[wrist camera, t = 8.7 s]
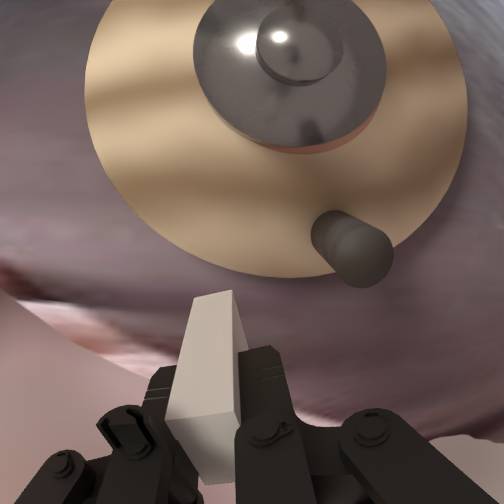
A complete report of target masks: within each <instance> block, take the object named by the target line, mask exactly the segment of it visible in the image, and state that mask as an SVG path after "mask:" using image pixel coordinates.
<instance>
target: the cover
mask: <svg viewBox="0 0 504 504" xmlns="http://www.w3.org/2000/svg"><path fill="white" fill-rule="evenodd" d="M193 62H194V68H195V72H196V75H197V78H198V81H199V84H200V86H201V89H202V91H203V94H204V96H205V98H206V100H207V102H208V104H209V105H210V107H211V108H212V110H213V111H214V113H215V114H216V115H217V116H218V117H219V119H220V120H221V121H222V122H223V123H225V124H226V125H227V126H228V127H229V128H230V129H232V130H233V131H235V132H236V133H238V134H239V135H241V136H243V137H245V138H247V139H249V140H251V141H254V142H257V143H259V144H263V145H267V146H271V147H278V148H299V147H307V146H313V145H318V144H323V143H327V142H331V141H334V140H336V139H339V138H341V137H344V136H345V135H347V134H349V133H351V132H353V131H354V130H355V129H357V128H358V127H359V126H361V125H362V124H363V123H364V122H365V121H366V120H367V119H368V118H369V117H370V116H371V114H372V113H373V111H374V110H375V109H376V107H377V105H378V103H379V101H380V99H381V97H382V94H383V91H384V88H385V83H386V76H387V64H386V56H385V52H384V48H383V44H382V42H381V39H380V37H379V34H378V32H377V31H376V29H375V27H374V25H373V24H372V22H371V21H370V19H369V18H368V17H367V15H366V14H365V13H364V12H363V11H362V10H361V9H360V8H359V7H358V6H357V5H356V4H355V3H354V2H353V1H352V0H215V1H214V2H213V3H212V4H211V5H210V6H209V8H208V9H207V10H206V12H205V13H204V15H203V17H202V18H201V20H200V22H199V24H198V27H197V30H196V33H195V37H194V43H193Z"/></svg>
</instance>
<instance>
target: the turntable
mask: <svg viewBox="0 0 504 504" xmlns="http://www.w3.org/2000/svg"><path fill="white" fill-rule="evenodd" d="M214 1H215V0H113V1H112V2H111V4H110V5H109V7H108V9H107V10H106V12H105V14H104V16H103V18H102V20H101V22H100V23H99V25H98V28H97V31H96V33H95V36H94V39H93V42H92V44H91V47H90V52H89V57H88V61H87V67H86V73H85V95H84V97H85V107H86V115H87V123H88V126H89V130H90V134H91V138H92V141H93V145H94V148H95V150H96V152H97V155H98V157H99V159H100V162H101V164H102V166H103V168H104V170H105V172H106V174H107V175H108V177H109V179H110V180H111V182H112V183H113V185H114V187H115V188H116V190H117V191H118V193H119V194H120V195H121V197H122V198H123V199H124V200H125V201H126V202H127V204H128V205H129V206H130V207H131V208H132V210H133V211H134V212H135V213H136V214H137V215H138V216H139V217H140V218H141V219H142V220H143V221H145V222H146V223H147V224H148V225H149V226H150V227H151V228H152V229H154V230H155V231H156V232H157V233H158V234H160V235H161V236H163V237H164V238H166V239H167V240H169V241H170V242H172V243H173V244H175V245H176V246H178V247H179V248H181V249H182V250H184V251H186V252H188V253H190V254H192V255H194V256H196V257H198V258H200V259H202V260H204V261H207V262H209V263H212V264H215V265H218V266H221V267H224V268H227V269H230V270H233V271H237V272H242V273H247V274H252V275H257V276H265V277H279V278H298V277H314V276H320V275H325V274H330V273H335V272H336V273H337V274H338V275H339V276H340V277H341V278H342V279H343V280H344V281H345V282H346V283H347V284H348V285H350V286H353V287H356V288H367V287H370V286H373V285H375V284H377V283H378V282H380V281H381V280H382V279H383V278H384V277H385V276H386V274H387V273H388V271H389V270H390V267H391V265H392V261H393V247H395V246H396V245H398V244H399V243H401V242H402V241H404V240H405V239H406V238H407V237H408V236H410V235H411V234H412V233H413V232H414V231H415V230H416V229H417V228H418V227H420V226H421V225H422V224H423V223H424V221H425V220H426V219H427V218H428V217H429V215H430V214H431V213H432V212H433V211H434V210H435V208H436V207H437V206H438V204H439V202H440V201H441V199H442V198H443V196H444V195H445V193H446V191H447V190H448V188H449V186H450V184H451V182H452V180H453V177H454V175H455V173H456V171H457V168H458V165H459V162H460V159H461V155H462V152H463V149H464V143H465V137H466V131H467V117H468V102H467V91H466V83H465V78H464V74H463V69H462V65H461V61H460V58H459V56H458V53H457V50H456V47H455V44H454V42H453V40H452V38H451V36H450V34H449V32H448V30H447V28H446V26H445V24H444V22H443V20H442V19H441V17H440V16H439V14H438V13H437V11H436V10H435V8H434V7H433V5H432V4H431V3H430V1H429V0H352V1H353V2H354V3H355V4H356V5H357V6H358V7H359V8H360V9H361V10H362V11H363V12H364V13H365V14H366V15H367V17H368V18H369V19H370V21H371V22H372V24H373V25H374V27H375V29H376V31H377V32H378V34H379V37H380V39H381V42H382V44H383V48H384V52H385V56H386V64H387V76H386V83H385V88H384V91H383V94H382V97H381V99H380V101H379V103H378V105H377V107H376V109H375V110H374V111H373V113H372V114H371V116H370V117H369V118H368V119H367V120H366V121H365V122H364V123H363V124H362V125H361V126H359V127H358V128H357V129H355V130H354V131H353V132H351V133H349V134H347V135H345V136H344V137H341V138H339V139H336V140H334V141H331V142H327V143H323V144H318V145H313V146H307V147H299V148H278V147H271V146H267V145H263V144H259V143H257V142H254V141H251V140H249V139H247V138H245V137H243V136H241V135H239V134H238V133H236V132H235V131H233V130H232V129H230V128H229V127H228V126H227V125H226V124H225V123H223V122H222V121H221V120H220V119H219V117H218V116H217V115H216V114H215V113H214V111H213V110H212V108H211V107H210V105H209V104H208V102H207V100H206V98H205V96H204V94H203V91H202V89H201V86H200V84H199V81H198V78H197V75H196V72H195V68H194V62H193V43H194V37H195V33H196V30H197V27H198V24H199V22H200V20H201V18H202V17H203V15H204V13H205V12H206V10H207V9H208V8H209V6H210V5H211V4H212V3H213V2H214Z"/></svg>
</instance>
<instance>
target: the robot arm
mask: <svg viewBox="0 0 504 504" xmlns="http://www.w3.org/2000/svg"><path fill="white" fill-rule="evenodd" d="M147 390H148V391H147V392H146V395H145V398H144V399H145V400H144V401H143V405H142V407H140V406H138V405H125V406H120V407H117V408H115V409H113V410H111V411H109V412H108V413H106V414H105V415H104V416H103V417H102V418H100V420H99V421H98V423H97V424H96V426H97V428H98V429H99V431H100V432H101V433H102V435H103V436H104V438H105V439H106V440H107V442H108V443H109V444H110V446H111V447H112V448H113V451H112V454H111V455H108V456H105V457H101V458H97V459H93V460H89V461H86V460H85V459H84V458H83V456H82V455H81V454H80V453H78V452H76V451H74V450H63V451H59V452H57V453H55V454H53V455H52V456H51V457H50V458H48V459H47V461H45V463H44V464H43V466H42V467H41V468H40V470H39V471H38V472H37V474H36V475H35V476H34V477H33V479H32V480H31V481H30V483H29V484H28V485H27V487H26V488H25V489H24V491H23V492H22V493H21V495H20V497H19V498H18V499H17V500H16V502H15V503H14V504H204V500H203V496H202V494H201V493H200V492H199V490H198V475H199V477H200V478H201V480H202V481H203V483H204V484H205V485H213V484H223V483H232V482H235V485H236V486H235V488H236V504H499V503H498V502H497V501H496V500H494V499H493V498H492V497H491V496H490V495H488V494H487V493H486V492H485V491H484V490H483V489H482V488H480V487H479V486H478V485H477V484H476V483H474V482H473V481H472V480H471V479H470V478H469V477H468V476H466V475H465V474H464V473H463V472H462V471H461V470H459V469H458V468H457V467H456V466H455V465H454V464H453V463H452V462H451V461H449V460H448V459H447V458H446V457H445V456H444V455H443V454H441V453H440V452H439V451H438V450H437V449H436V448H435V447H434V446H432V445H431V444H430V443H429V442H428V441H427V440H426V439H425V438H423V437H422V436H421V435H420V434H419V433H418V432H417V431H416V430H415V429H413V428H412V427H411V426H410V425H409V424H408V423H407V422H406V421H405V420H403V419H402V418H401V417H400V416H399V415H397V414H395V413H394V412H392V411H390V410H386V409H381V408H374V409H365V410H362V411H360V412H357V413H354V414H353V415H352V416H350V417H349V418H347V419H346V420H345V421H344V423H343V424H342V426H341V427H316V426H313V425H309V424H307V423H305V422H303V421H301V420H300V419H299V418H298V417H297V416H296V414H295V412H294V409H293V405H292V401H291V397H290V393H289V389H288V385H287V381H286V377H285V373H284V369H283V365H282V361H281V357H280V353H279V352H278V351H277V350H275V349H274V348H273V347H272V346H271V345H269V346H264V347H260V348H256V349H251V350H248V346H247V342H246V338H245V335H244V331H243V328H242V324H241V321H240V317H239V313H238V310H237V306H236V303H235V299H234V295H233V292H232V290H228V291H223V292H219V293H214V294H210V295H205V296H201V297H196V298H194V301H193V305H192V309H191V312H190V316H189V320H188V324H187V328H186V332H185V336H184V340H183V344H182V348H181V352H180V356H179V360H178V364H177V365H173V366H167V367H160V368H159V369H158V370H157V372H156V373H155V374H154V375H153V376H152V377H151V379H150V383H149V385H148V389H147Z"/></svg>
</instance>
